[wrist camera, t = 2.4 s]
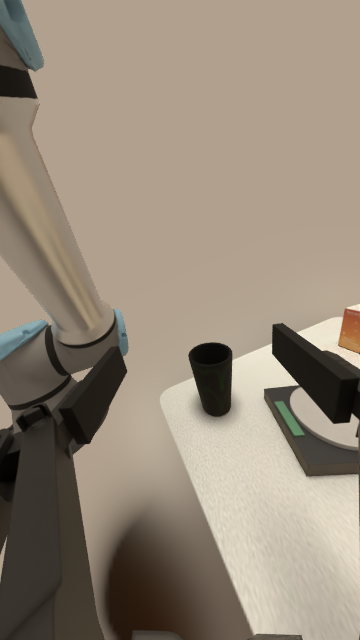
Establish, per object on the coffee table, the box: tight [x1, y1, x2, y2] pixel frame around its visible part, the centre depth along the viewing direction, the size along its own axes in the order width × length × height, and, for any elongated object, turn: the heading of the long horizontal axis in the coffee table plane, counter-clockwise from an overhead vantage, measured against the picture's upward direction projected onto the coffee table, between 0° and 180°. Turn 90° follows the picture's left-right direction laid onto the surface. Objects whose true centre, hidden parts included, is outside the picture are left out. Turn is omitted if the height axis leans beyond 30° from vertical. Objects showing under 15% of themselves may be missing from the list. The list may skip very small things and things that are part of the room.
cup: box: [188, 343, 232, 416], centre depth 32 cm, size 8×8×12 cm
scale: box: [264, 385, 359, 476], centre depth 27 cm, size 13×13×3 cm
